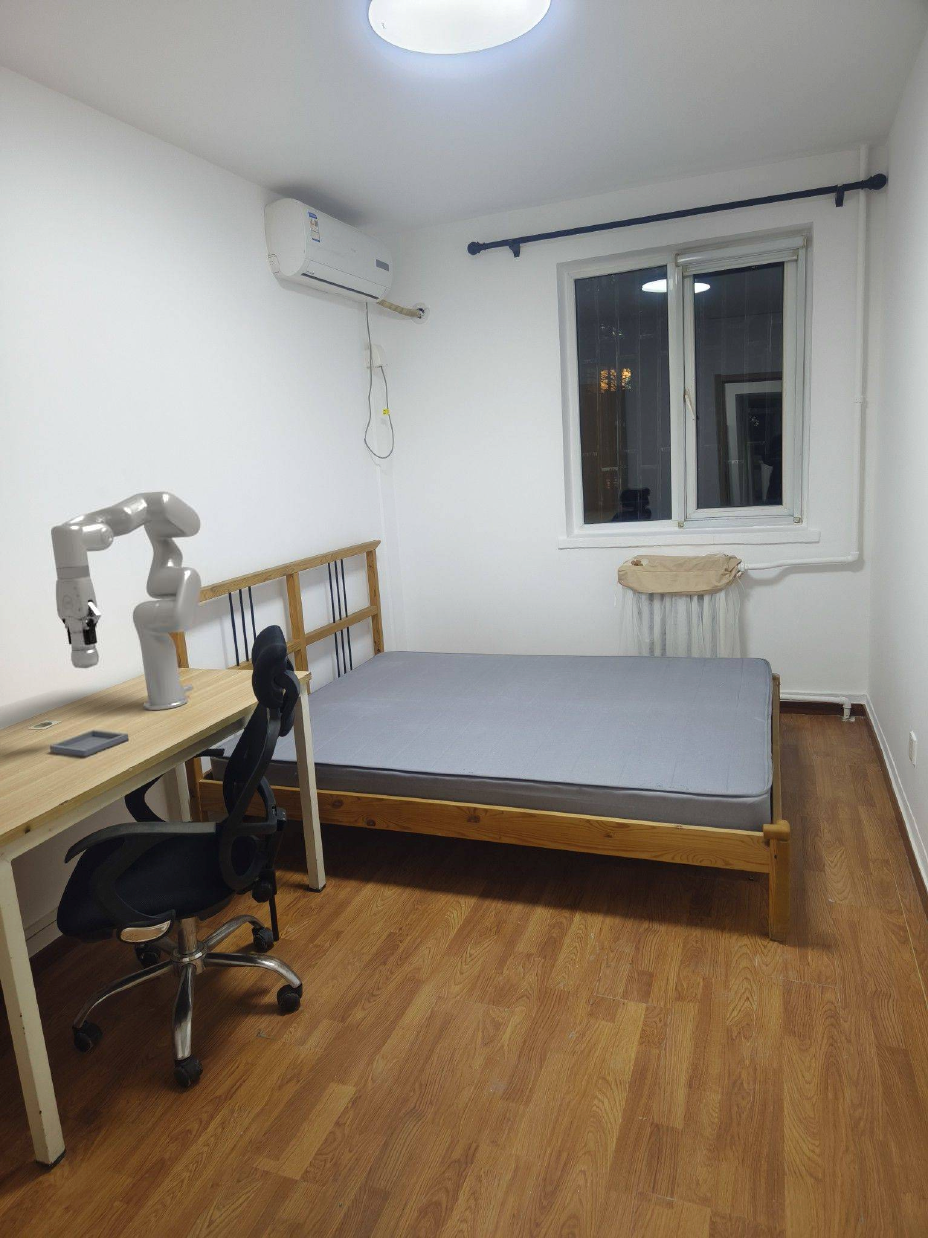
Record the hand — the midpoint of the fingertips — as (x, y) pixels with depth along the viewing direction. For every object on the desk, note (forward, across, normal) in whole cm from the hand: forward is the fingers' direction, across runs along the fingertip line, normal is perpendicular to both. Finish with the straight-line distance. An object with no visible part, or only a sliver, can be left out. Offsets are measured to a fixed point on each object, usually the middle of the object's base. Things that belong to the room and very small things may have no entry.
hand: (83, 643), depth 202 cm
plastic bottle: (+7, 0, 0) cm, 7 cm away
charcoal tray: (+26, +2, -4) cm, 27 cm away
